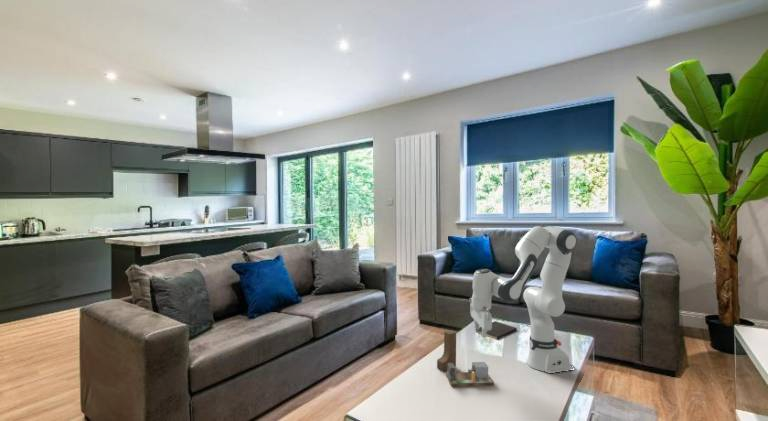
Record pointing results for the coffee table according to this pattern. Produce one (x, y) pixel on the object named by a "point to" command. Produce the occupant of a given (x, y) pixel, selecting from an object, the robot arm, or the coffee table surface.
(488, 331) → the hardcover book
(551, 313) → the robot arm
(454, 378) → the bench
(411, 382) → the coffee table surface
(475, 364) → the block
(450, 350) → the wooden block
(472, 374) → the amber brick
